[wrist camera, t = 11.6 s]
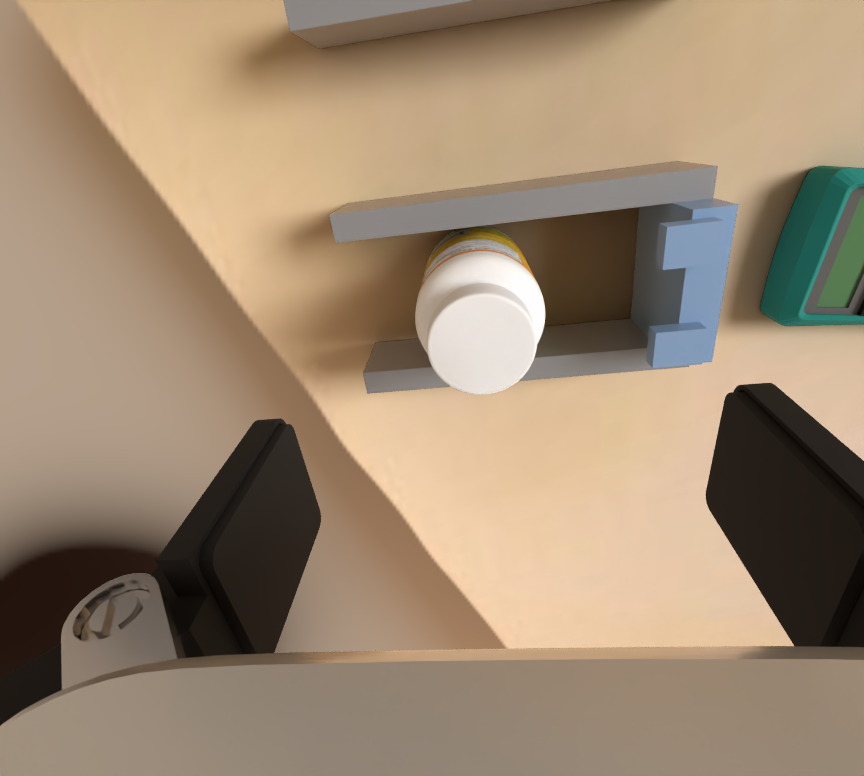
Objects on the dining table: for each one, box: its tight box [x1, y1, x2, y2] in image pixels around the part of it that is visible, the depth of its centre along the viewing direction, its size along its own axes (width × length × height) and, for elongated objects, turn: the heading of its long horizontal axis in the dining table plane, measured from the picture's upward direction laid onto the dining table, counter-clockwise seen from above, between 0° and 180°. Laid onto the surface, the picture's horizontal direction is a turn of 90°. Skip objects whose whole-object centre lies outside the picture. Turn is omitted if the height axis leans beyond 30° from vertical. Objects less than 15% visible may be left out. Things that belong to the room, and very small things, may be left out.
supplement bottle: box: [415, 226, 545, 395], centre depth 21 cm, size 5×5×10 cm
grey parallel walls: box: [283, 0, 738, 394], centre depth 19 cm, size 24×16×7 cm, turn 7°
